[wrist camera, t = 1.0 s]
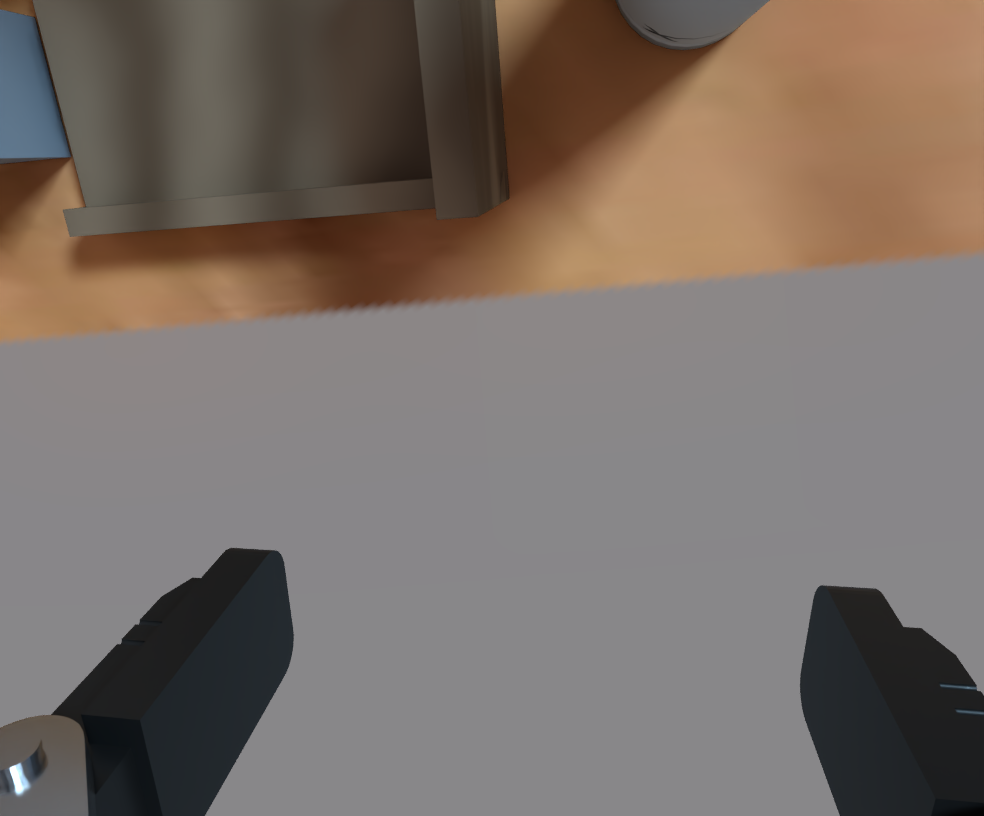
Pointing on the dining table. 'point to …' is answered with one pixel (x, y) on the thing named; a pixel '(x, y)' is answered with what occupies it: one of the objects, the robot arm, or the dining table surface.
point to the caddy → (27, 95)
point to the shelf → (276, 109)
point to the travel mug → (686, 20)
